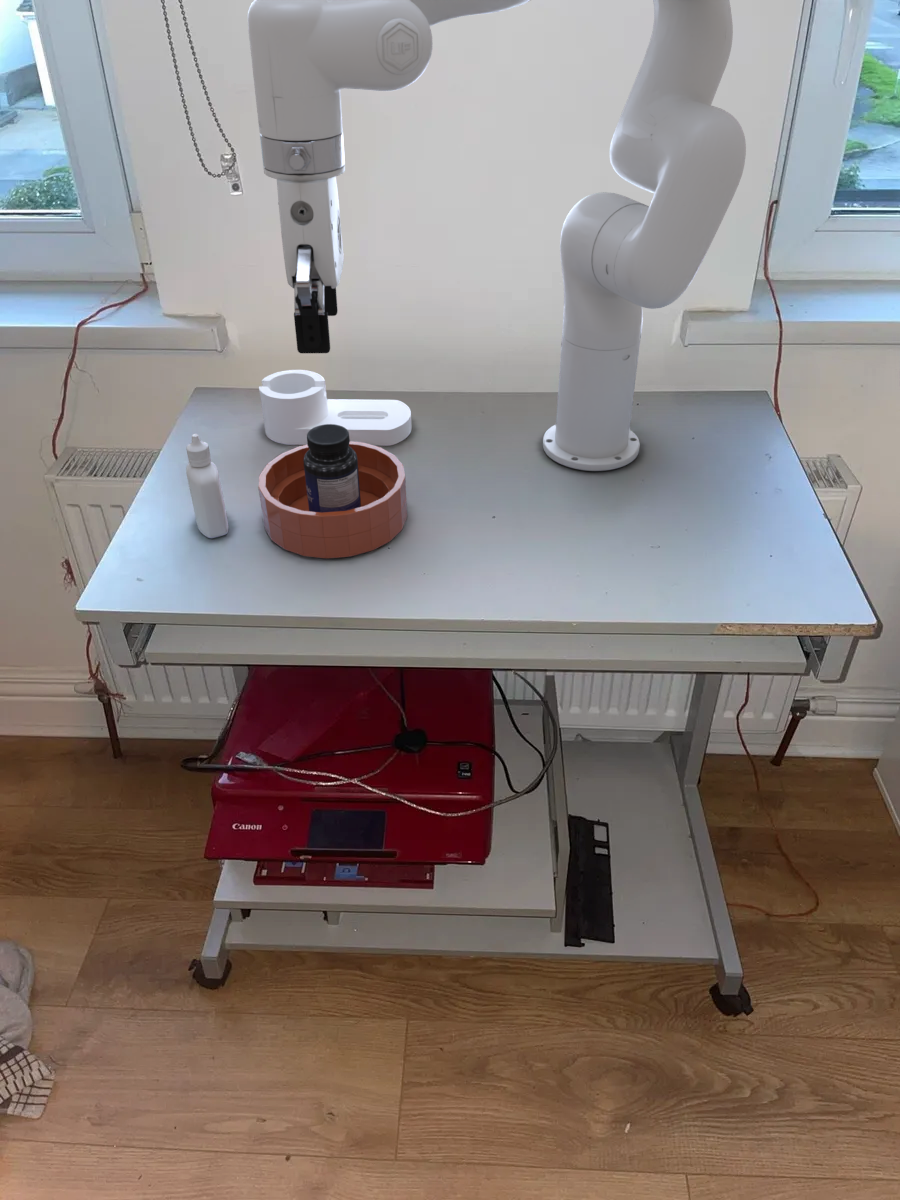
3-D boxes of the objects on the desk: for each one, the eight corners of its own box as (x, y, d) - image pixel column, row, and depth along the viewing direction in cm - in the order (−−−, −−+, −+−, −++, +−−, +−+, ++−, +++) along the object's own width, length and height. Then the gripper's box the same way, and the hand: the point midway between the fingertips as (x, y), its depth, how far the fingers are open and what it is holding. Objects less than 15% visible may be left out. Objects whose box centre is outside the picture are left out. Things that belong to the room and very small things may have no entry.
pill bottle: (311, 504, 114) (301, 421, 107) (362, 501, 114) (355, 419, 107) (309, 532, 109) (298, 448, 102) (362, 530, 109) (355, 446, 102)
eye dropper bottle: (237, 513, 113) (221, 423, 106) (225, 540, 109) (208, 448, 101) (201, 512, 113) (182, 422, 106) (188, 539, 109) (167, 447, 101)
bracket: (259, 444, 126) (252, 398, 122) (271, 413, 133) (265, 369, 129) (409, 445, 126) (407, 399, 121) (413, 415, 132) (411, 370, 128)
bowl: (319, 471, 121) (314, 428, 117) (432, 504, 114) (431, 460, 111) (236, 536, 109) (228, 491, 106) (356, 576, 103) (352, 531, 99)
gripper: (337, 178, 80) (349, 368, 91) (350, 132, 94) (359, 302, 104) (248, 179, 80) (271, 368, 91) (274, 133, 94) (291, 302, 104)
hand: (318, 332), depth 98 cm, fingers open, 9 cm apart
